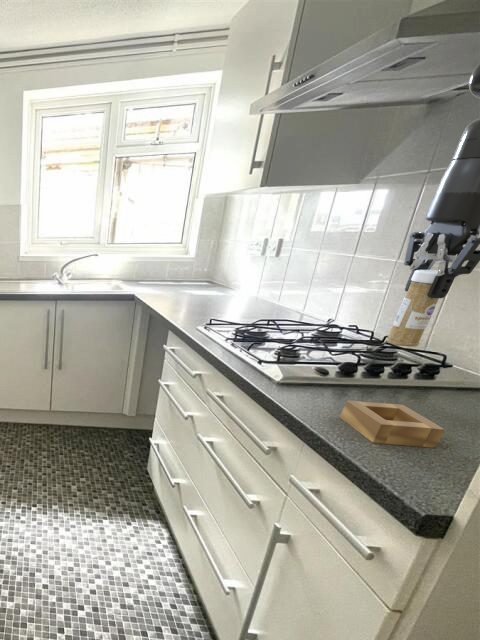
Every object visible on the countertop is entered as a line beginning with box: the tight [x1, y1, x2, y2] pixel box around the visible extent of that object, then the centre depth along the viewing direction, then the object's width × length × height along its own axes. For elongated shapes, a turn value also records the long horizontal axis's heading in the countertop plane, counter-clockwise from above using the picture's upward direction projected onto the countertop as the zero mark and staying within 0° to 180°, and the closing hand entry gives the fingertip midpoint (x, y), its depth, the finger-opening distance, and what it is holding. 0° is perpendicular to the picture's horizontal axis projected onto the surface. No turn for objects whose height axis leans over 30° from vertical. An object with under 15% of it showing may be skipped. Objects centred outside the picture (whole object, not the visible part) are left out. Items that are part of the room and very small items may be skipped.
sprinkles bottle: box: [385, 269, 440, 348], centre depth 76 cm, size 5×5×13 cm
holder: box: [339, 400, 446, 449], centre depth 81 cm, size 10×10×4 cm
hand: (423, 294), depth 75 cm, fingers closed on sprinkles bottle, 4 cm apart
